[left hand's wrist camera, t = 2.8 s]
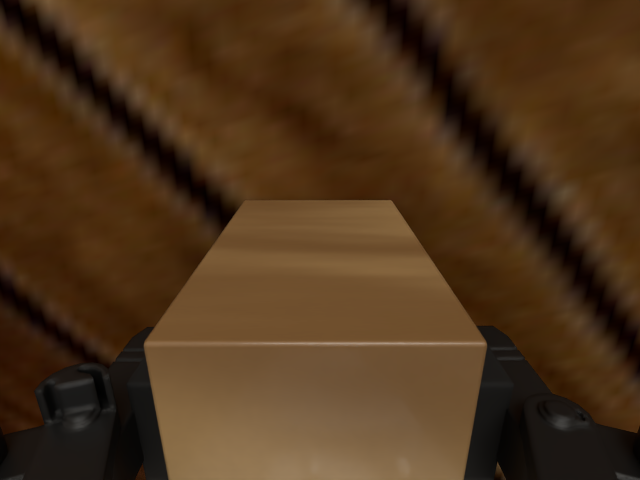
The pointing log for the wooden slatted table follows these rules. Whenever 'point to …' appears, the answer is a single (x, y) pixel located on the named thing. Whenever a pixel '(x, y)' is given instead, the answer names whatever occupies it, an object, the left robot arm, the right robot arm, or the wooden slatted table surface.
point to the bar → (316, 352)
